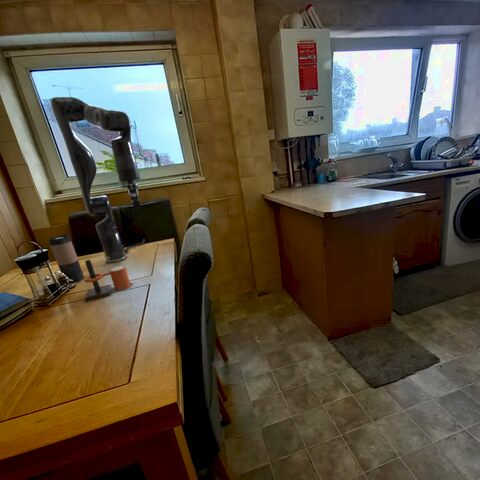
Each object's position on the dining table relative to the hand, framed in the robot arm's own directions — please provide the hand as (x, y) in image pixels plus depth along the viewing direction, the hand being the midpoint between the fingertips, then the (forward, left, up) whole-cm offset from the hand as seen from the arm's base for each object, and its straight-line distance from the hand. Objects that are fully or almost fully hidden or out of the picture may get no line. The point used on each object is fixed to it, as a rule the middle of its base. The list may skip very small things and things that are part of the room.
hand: (138, 209), depth 114 cm
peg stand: (+11, -21, -28) cm, 37 cm away
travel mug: (-15, -34, -28) cm, 47 cm away
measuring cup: (+10, -17, -28) cm, 34 cm away
